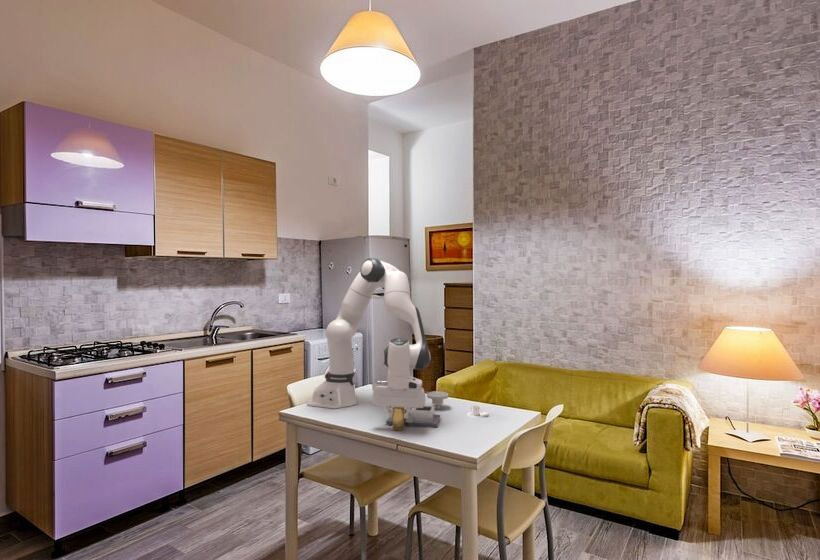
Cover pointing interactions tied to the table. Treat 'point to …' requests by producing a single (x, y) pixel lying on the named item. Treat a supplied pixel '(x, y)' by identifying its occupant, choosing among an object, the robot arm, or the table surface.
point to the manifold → (420, 417)
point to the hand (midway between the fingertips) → (398, 418)
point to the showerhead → (437, 397)
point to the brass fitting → (398, 418)
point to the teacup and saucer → (477, 411)
